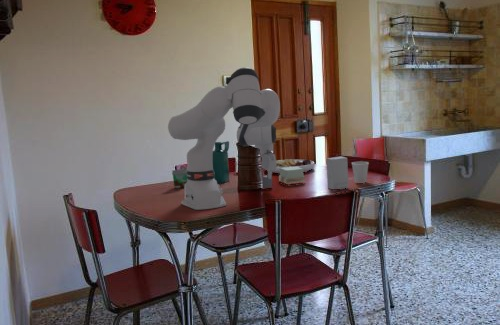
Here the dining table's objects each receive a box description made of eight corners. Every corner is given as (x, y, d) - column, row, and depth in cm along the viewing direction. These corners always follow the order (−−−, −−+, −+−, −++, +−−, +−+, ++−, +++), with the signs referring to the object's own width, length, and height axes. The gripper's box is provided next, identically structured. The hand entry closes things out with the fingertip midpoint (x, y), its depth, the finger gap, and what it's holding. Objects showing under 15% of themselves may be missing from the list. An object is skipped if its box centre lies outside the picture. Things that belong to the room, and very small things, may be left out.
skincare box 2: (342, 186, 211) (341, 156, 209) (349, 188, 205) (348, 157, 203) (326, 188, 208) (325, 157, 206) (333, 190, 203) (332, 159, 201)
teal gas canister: (210, 182, 238) (207, 142, 235) (216, 180, 246) (214, 141, 243) (226, 183, 235) (223, 142, 232) (232, 180, 242) (230, 140, 239)
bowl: (255, 174, 261) (254, 160, 260) (280, 166, 286) (280, 154, 285) (299, 176, 244) (299, 162, 243) (322, 168, 269) (322, 155, 268)
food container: (184, 189, 223) (183, 170, 222) (173, 189, 224) (172, 170, 223) (192, 185, 235) (191, 166, 234) (181, 185, 236) (180, 166, 235)
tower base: (305, 184, 224) (304, 176, 223) (287, 186, 221) (287, 178, 220) (296, 181, 233) (295, 173, 233) (279, 183, 230) (278, 175, 229)
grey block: (272, 188, 215) (271, 176, 214) (263, 189, 213) (262, 177, 212) (268, 187, 220) (267, 175, 219) (259, 188, 218) (258, 176, 217)
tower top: (303, 176, 223) (303, 168, 223) (287, 178, 221) (287, 170, 220) (296, 173, 232) (295, 166, 231) (280, 175, 229) (280, 168, 228)
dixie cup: (371, 183, 215) (371, 163, 213) (354, 184, 214) (354, 164, 213) (365, 180, 223) (365, 161, 221) (349, 181, 222) (349, 162, 221)
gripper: (279, 150, 205) (280, 179, 207) (262, 147, 224) (263, 173, 226) (266, 151, 203) (268, 181, 205) (250, 148, 222) (252, 175, 224)
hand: (265, 177), depth 215 cm, fingers open, 8 cm apart
